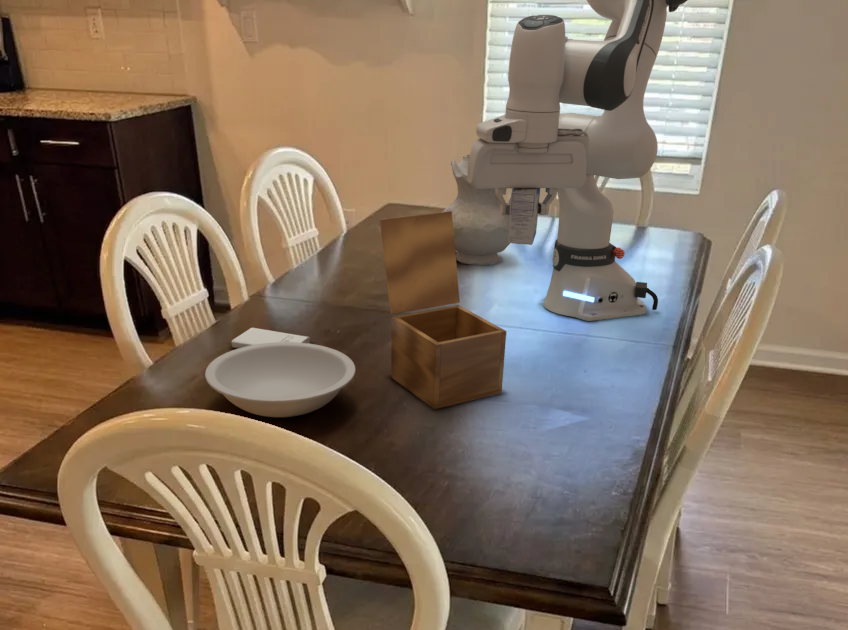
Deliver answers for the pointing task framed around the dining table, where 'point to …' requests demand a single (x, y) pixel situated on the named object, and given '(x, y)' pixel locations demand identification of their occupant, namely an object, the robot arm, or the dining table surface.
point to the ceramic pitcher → (477, 220)
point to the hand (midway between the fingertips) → (523, 214)
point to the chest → (447, 355)
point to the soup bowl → (280, 377)
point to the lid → (420, 261)
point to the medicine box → (523, 215)
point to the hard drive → (265, 338)
